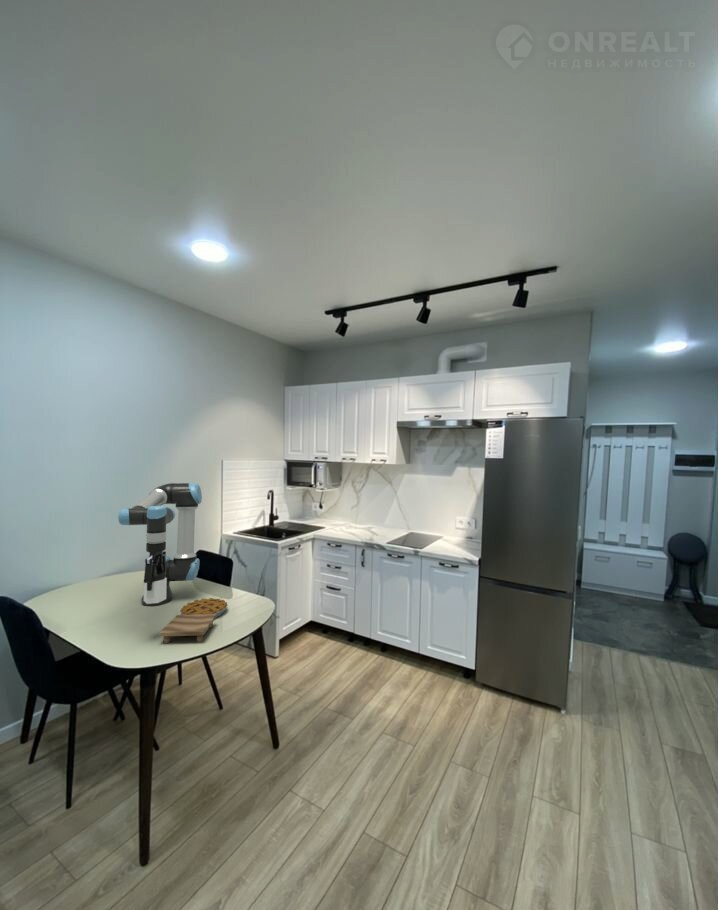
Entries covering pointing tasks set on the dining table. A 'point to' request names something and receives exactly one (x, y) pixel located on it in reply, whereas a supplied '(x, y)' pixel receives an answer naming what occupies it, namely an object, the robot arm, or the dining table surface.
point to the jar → (157, 588)
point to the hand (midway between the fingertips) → (155, 593)
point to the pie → (205, 607)
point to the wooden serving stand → (188, 626)
